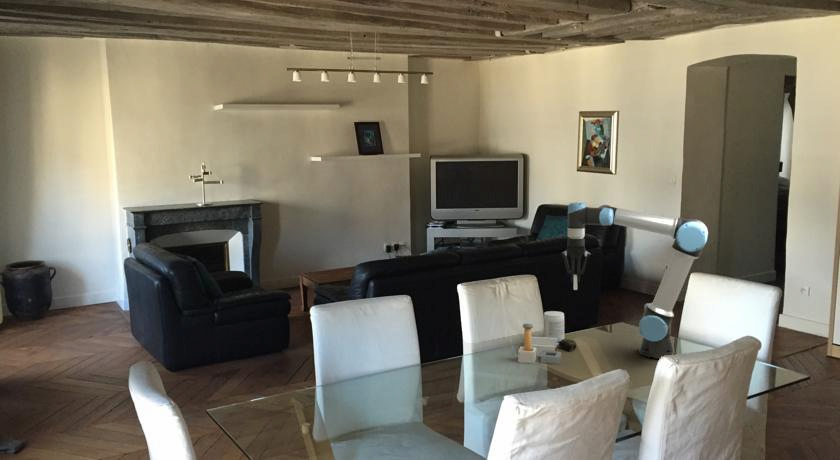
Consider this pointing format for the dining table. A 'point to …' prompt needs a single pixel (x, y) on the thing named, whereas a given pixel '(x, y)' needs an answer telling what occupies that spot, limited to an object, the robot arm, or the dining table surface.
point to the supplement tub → (554, 325)
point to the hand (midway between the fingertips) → (575, 289)
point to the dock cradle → (543, 344)
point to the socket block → (527, 355)
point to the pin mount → (551, 357)
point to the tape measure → (567, 344)
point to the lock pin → (527, 336)
